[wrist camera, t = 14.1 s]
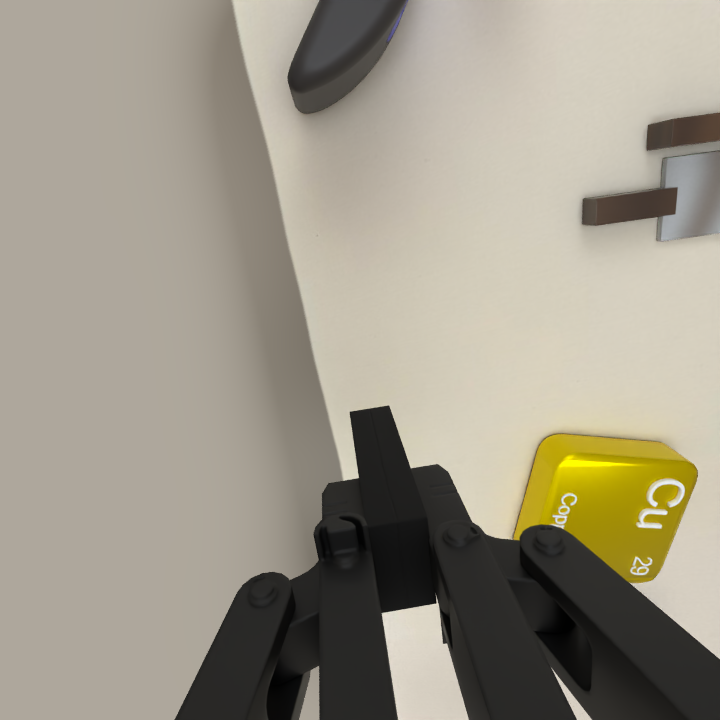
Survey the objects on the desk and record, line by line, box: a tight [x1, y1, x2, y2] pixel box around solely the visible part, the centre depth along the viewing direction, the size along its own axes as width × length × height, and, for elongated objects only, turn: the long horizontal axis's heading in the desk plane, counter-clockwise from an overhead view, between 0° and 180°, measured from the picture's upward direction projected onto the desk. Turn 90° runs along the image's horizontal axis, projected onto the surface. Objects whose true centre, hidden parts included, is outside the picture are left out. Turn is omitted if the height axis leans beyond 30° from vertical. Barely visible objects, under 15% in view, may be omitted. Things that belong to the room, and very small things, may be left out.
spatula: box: [582, 151, 720, 242], centre depth 40 cm, size 15×7×2 cm, turn 97°
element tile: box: [514, 434, 698, 583], centre depth 49 cm, size 15×15×5 cm
